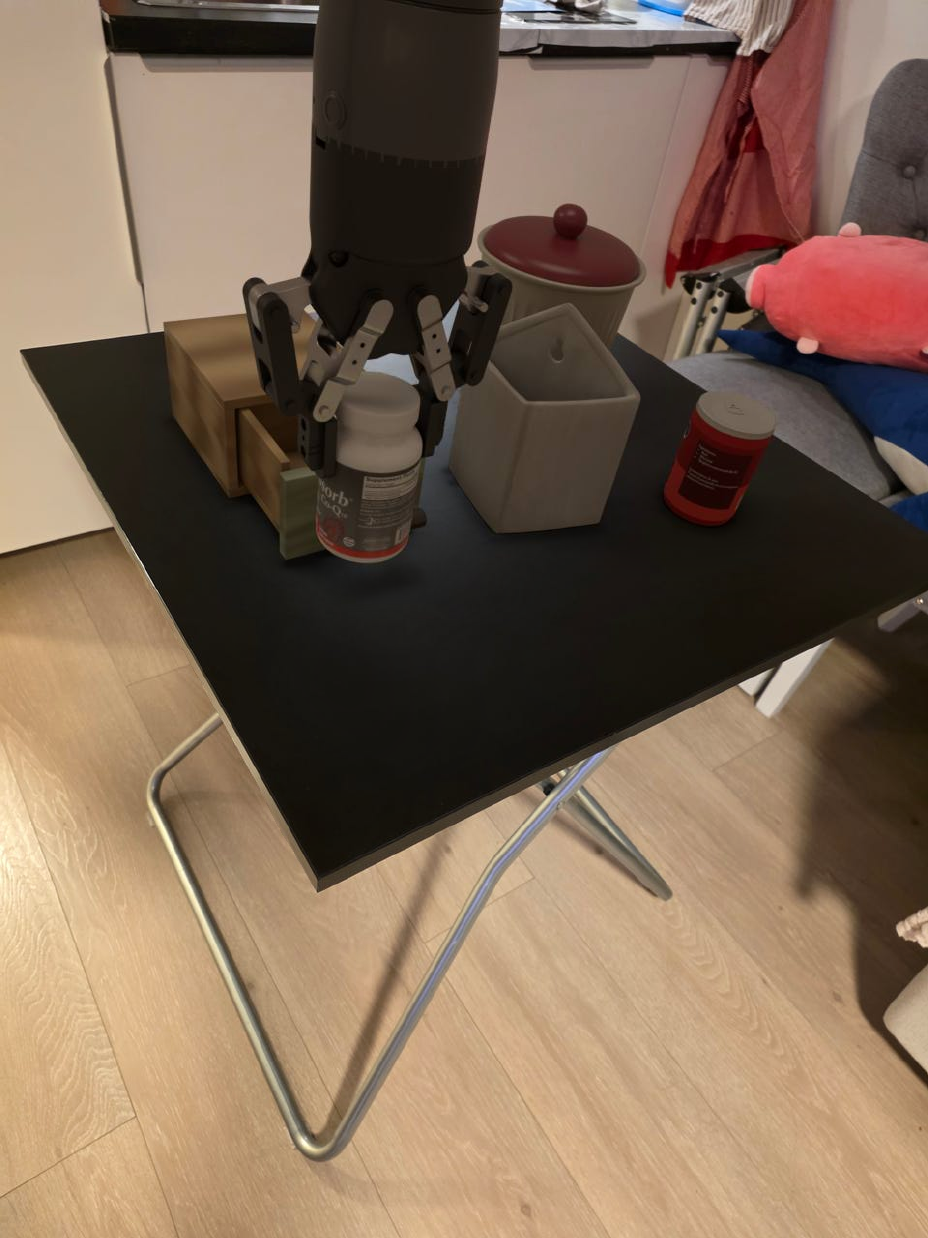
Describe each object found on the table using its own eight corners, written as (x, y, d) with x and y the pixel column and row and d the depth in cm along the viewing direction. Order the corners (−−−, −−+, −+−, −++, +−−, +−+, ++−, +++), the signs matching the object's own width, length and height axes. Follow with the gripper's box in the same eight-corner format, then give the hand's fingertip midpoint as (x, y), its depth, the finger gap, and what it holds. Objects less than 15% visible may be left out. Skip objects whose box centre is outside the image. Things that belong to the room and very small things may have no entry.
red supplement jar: (708, 480, 87) (748, 388, 80) (747, 525, 82) (794, 431, 75) (647, 484, 85) (682, 390, 77) (684, 531, 80) (726, 435, 72)
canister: (493, 343, 104) (527, 164, 89) (623, 391, 99) (681, 211, 85) (427, 396, 91) (454, 197, 77) (572, 454, 87) (630, 255, 73)
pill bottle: (301, 517, 50) (307, 369, 43) (384, 502, 52) (402, 361, 46) (336, 575, 47) (348, 425, 40) (423, 557, 49) (448, 412, 42)
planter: (416, 503, 76) (445, 302, 63) (450, 464, 82) (482, 273, 68) (577, 564, 73) (642, 367, 60) (600, 520, 79) (664, 331, 65)
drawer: (447, 560, 69) (461, 484, 64) (313, 600, 63) (316, 520, 58) (346, 446, 79) (351, 372, 74) (223, 471, 73) (218, 393, 68)
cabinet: (365, 468, 79) (372, 377, 72) (229, 498, 72) (223, 400, 65) (300, 395, 87) (301, 306, 80) (172, 416, 80) (162, 321, 74)
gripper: (491, 104, 40) (443, 408, 51) (203, 92, 33) (223, 447, 44) (583, 153, 36) (509, 472, 47) (277, 151, 29) (278, 526, 40)
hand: (370, 459), depth 46 cm, fingers closed on pill bottle, 5 cm apart
